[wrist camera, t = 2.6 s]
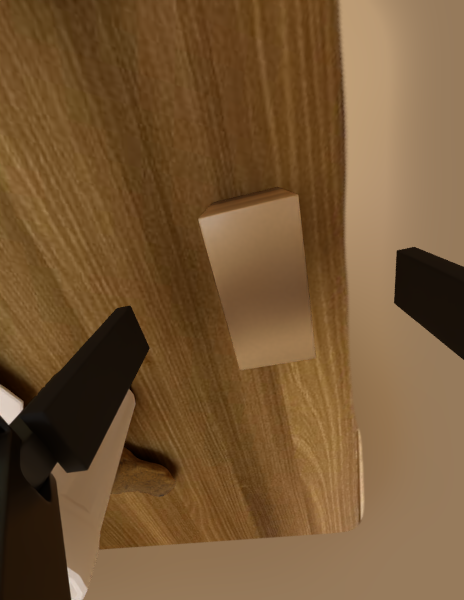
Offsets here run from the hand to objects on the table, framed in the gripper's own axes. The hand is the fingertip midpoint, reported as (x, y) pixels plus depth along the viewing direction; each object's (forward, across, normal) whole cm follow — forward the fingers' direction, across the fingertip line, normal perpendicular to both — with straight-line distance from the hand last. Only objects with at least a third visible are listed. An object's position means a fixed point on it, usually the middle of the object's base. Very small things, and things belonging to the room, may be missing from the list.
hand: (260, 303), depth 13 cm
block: (+7, 0, 0) cm, 7 cm away
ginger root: (+7, -19, -22) cm, 30 cm away
